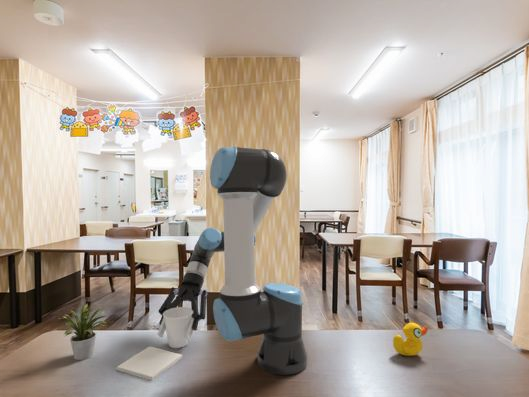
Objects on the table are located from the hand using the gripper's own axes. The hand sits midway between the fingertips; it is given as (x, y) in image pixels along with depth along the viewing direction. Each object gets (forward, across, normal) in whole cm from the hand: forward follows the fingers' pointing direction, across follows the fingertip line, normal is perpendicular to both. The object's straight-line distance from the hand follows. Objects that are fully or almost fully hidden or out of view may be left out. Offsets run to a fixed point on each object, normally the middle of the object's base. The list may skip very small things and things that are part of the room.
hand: (173, 337), depth 105 cm
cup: (+1, 0, -5) cm, 5 cm away
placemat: (+10, +2, +4) cm, 11 cm away
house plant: (+11, +25, +5) cm, 28 cm away
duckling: (-7, -75, -13) cm, 77 cm away
